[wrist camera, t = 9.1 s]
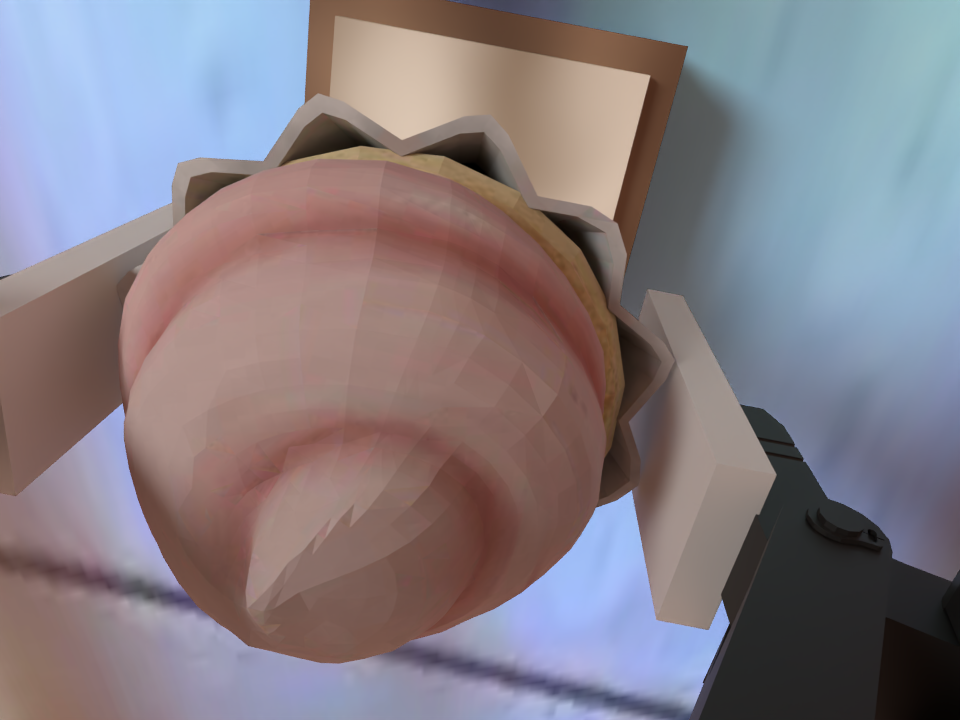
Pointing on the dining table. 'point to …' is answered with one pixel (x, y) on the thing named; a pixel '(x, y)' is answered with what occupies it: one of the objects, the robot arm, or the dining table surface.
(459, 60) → the walnut base
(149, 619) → the dining table surface
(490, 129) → the cupcake
